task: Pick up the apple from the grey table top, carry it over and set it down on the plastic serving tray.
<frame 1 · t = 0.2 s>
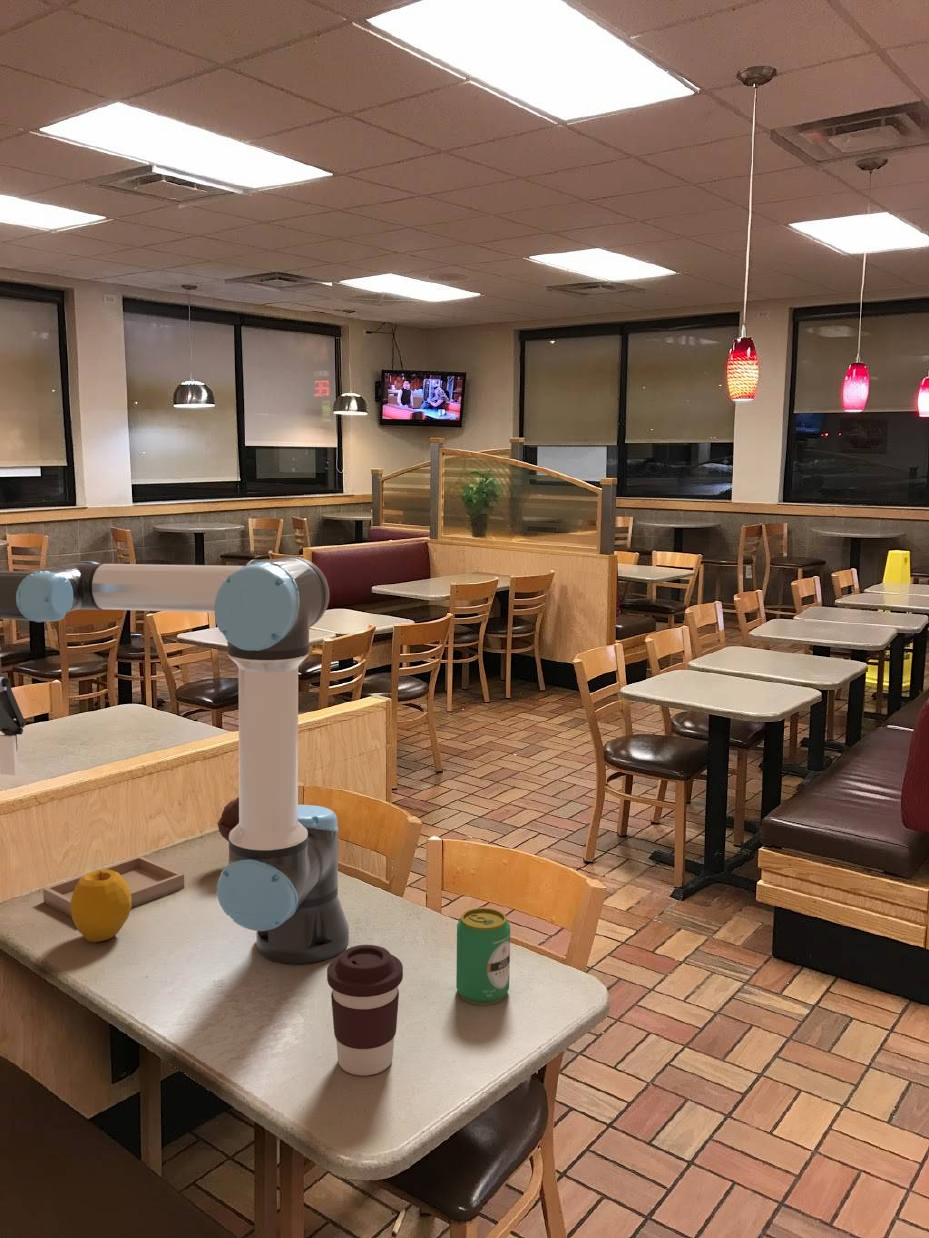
tray: (115, 894, 186), on the table
apple: (102, 939, 169), on the table
coffee cup: (365, 1062, 135), on the table
beverage can: (482, 993, 153), on the table
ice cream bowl: (247, 867, 200), on the table
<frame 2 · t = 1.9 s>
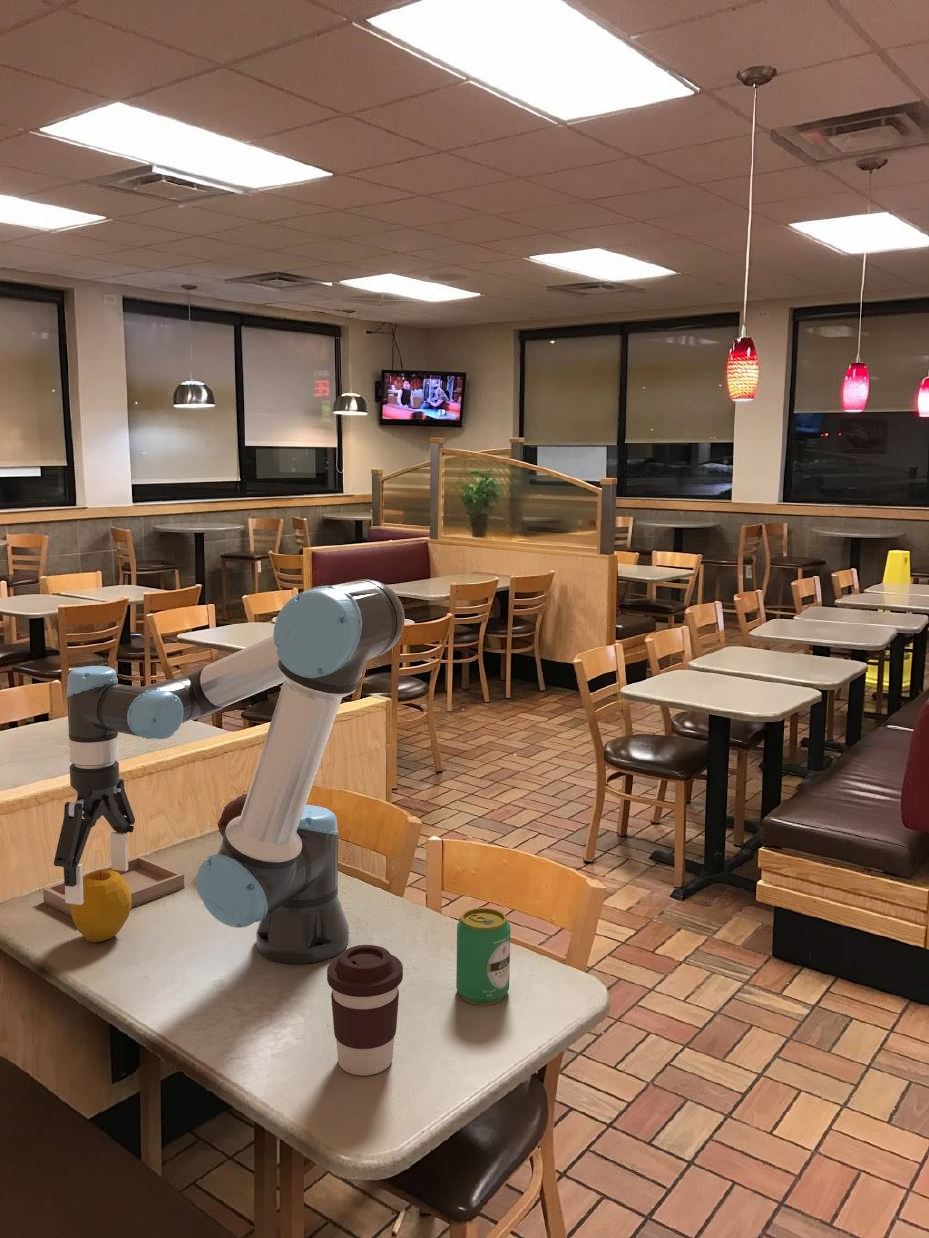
hand: (98, 885, 168), 9 cm above the table, fingers open, 13 cm apart
nothing on the table moved.
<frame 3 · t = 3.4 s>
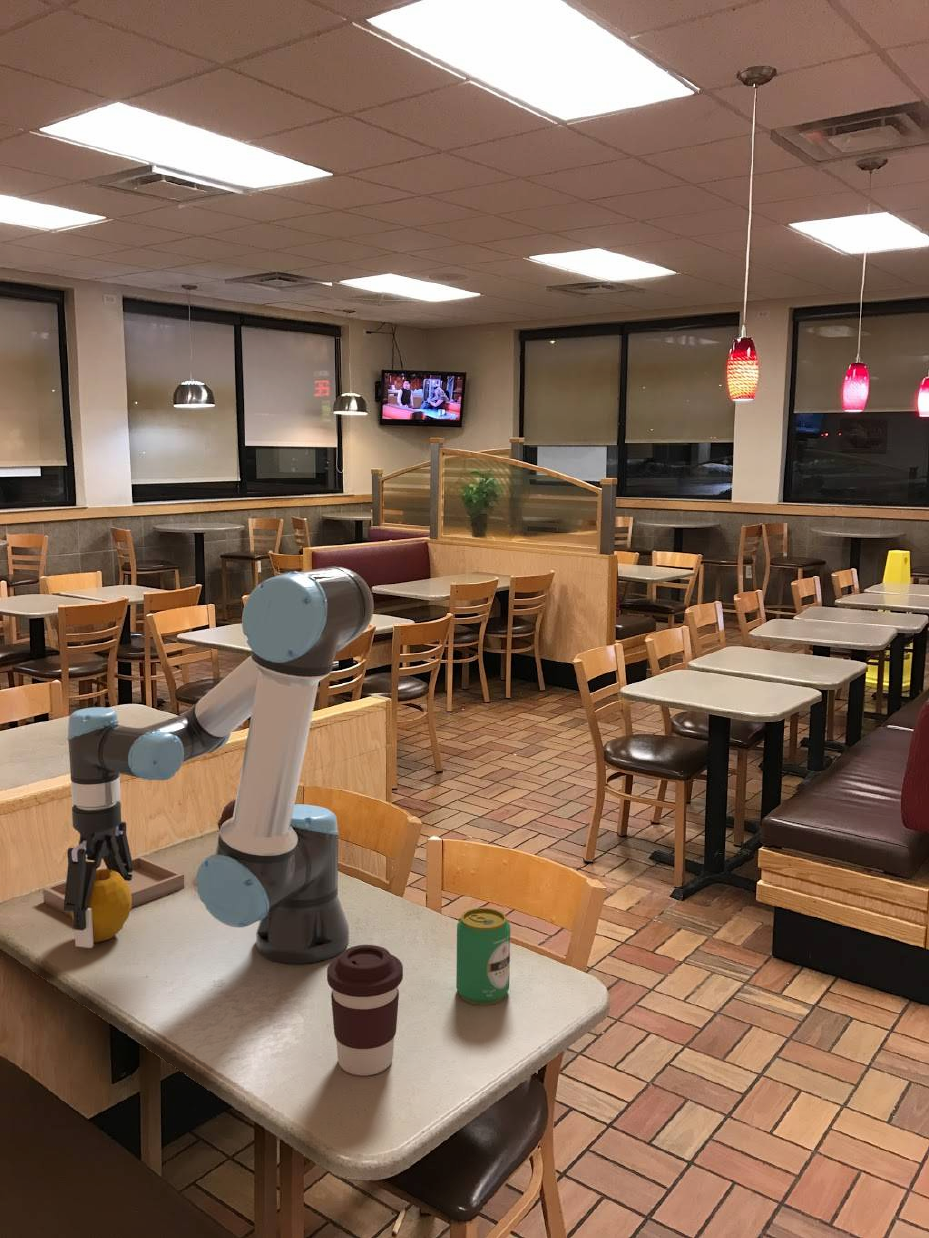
hand: (102, 931, 169), 1 cm above the table, fingers closed on apple, 10 cm apart
apple: (102, 939, 169), on the table, touching gripper
everything else where it was.
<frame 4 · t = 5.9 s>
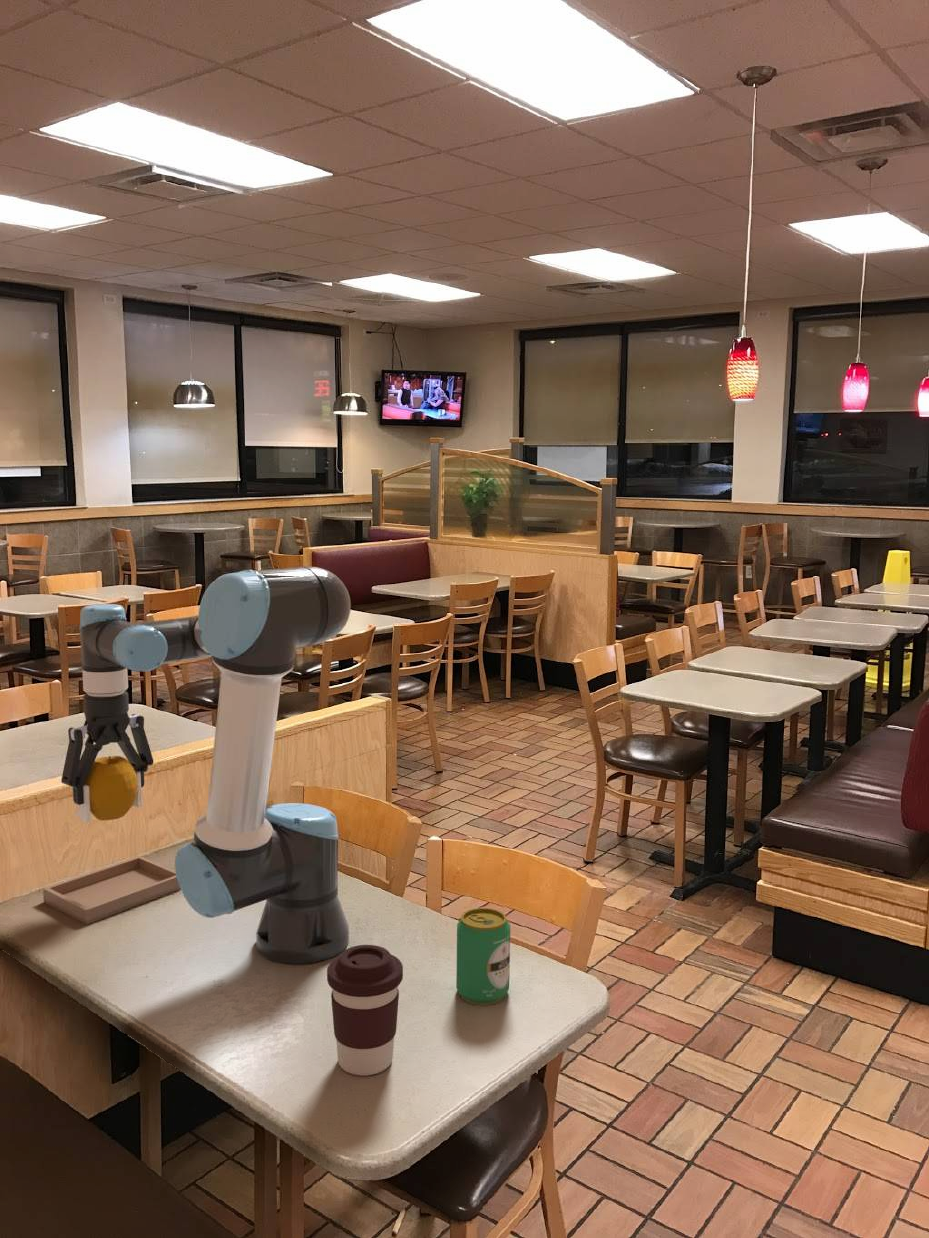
hand: (110, 812, 183), 16 cm above the table, fingers closed on apple, 10 cm apart
apple: (110, 819, 183), point 14 cm above the table, touching gripper
everything else where it was.
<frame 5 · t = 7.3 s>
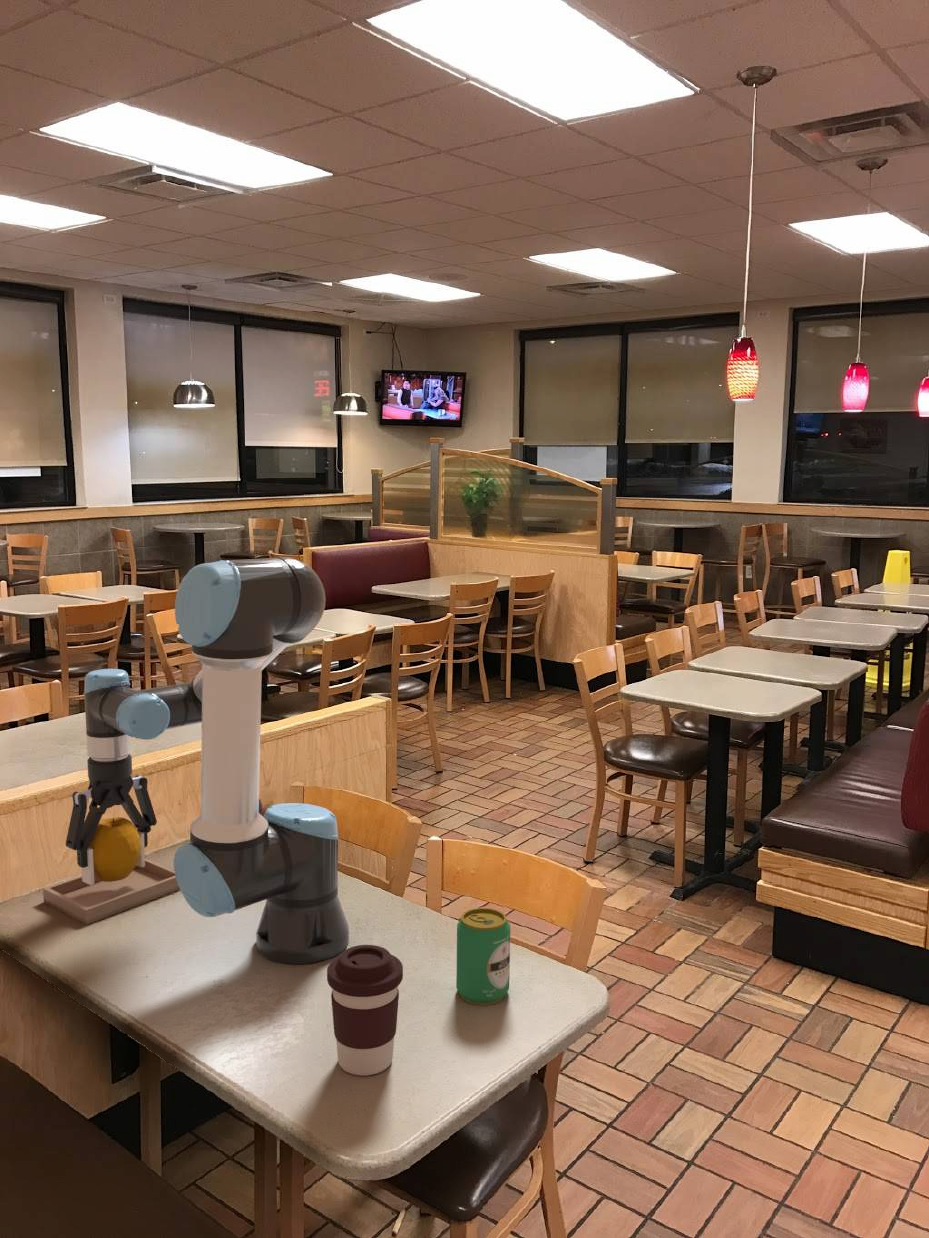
hand: (114, 873, 185), 4 cm above the table, fingers closed on apple, 10 cm apart
apple: (114, 880, 186), point 3 cm above the table, touching gripper
everything else where it was.
when the fingers open (4 cm above the table, at t = 8.2 s): apple drops 2 cm, resting on tray.
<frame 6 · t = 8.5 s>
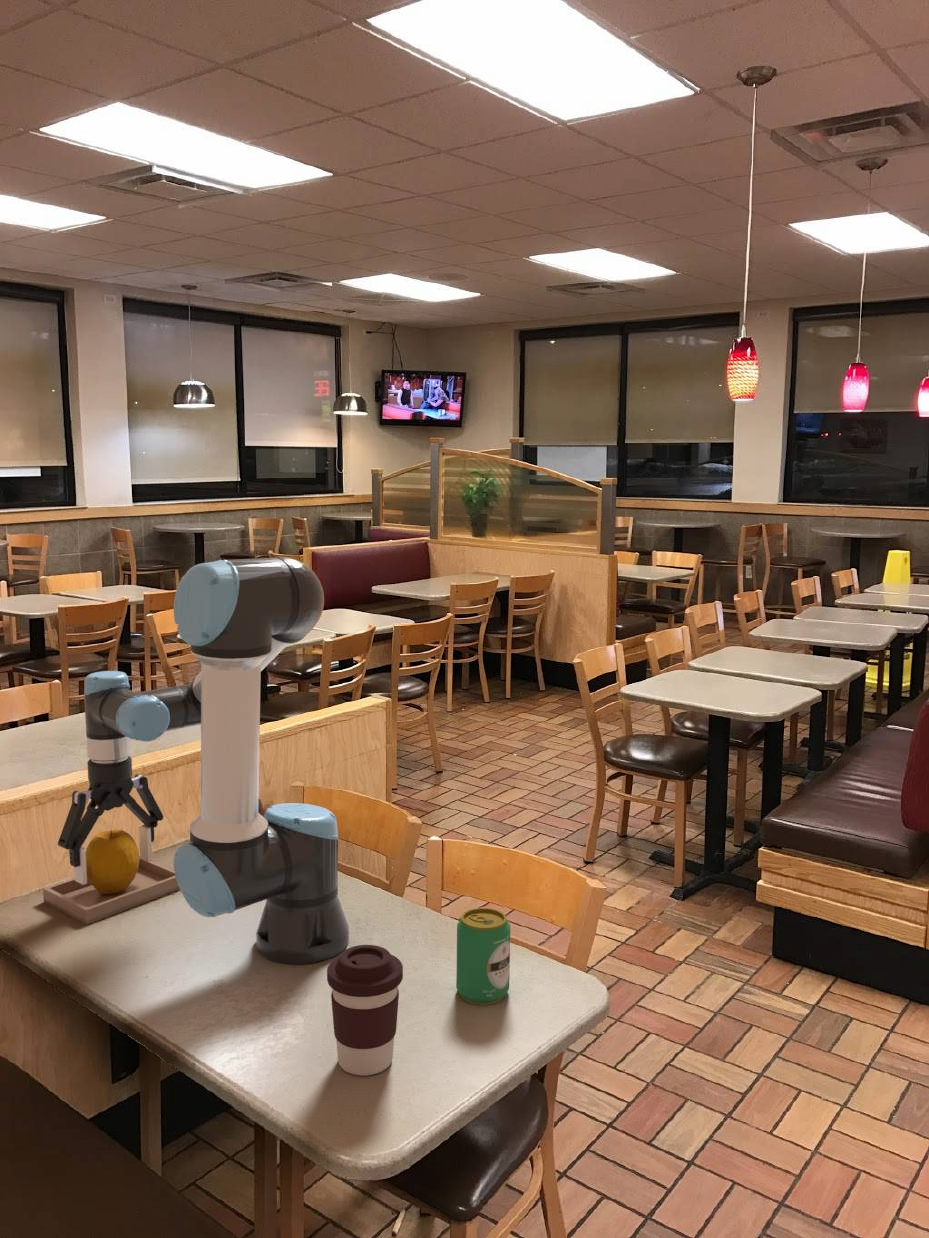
hand: (114, 870, 185), 5 cm above the table, fingers open, 13 cm apart
apple: (112, 893, 186), resting on tray
everything else where it was.
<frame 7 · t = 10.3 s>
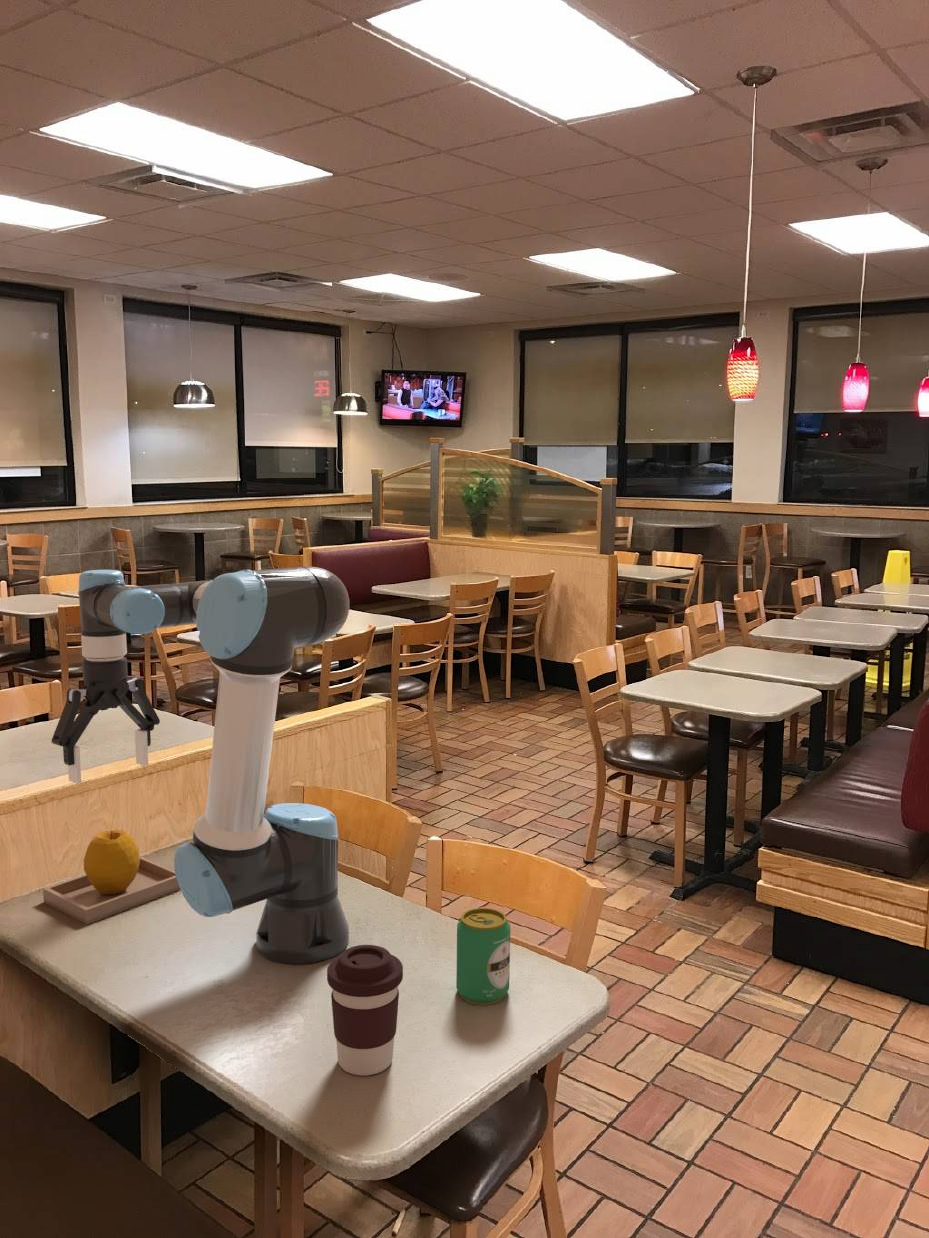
hand: (109, 772, 183), 23 cm above the table, fingers open, 13 cm apart
nothing on the table moved.
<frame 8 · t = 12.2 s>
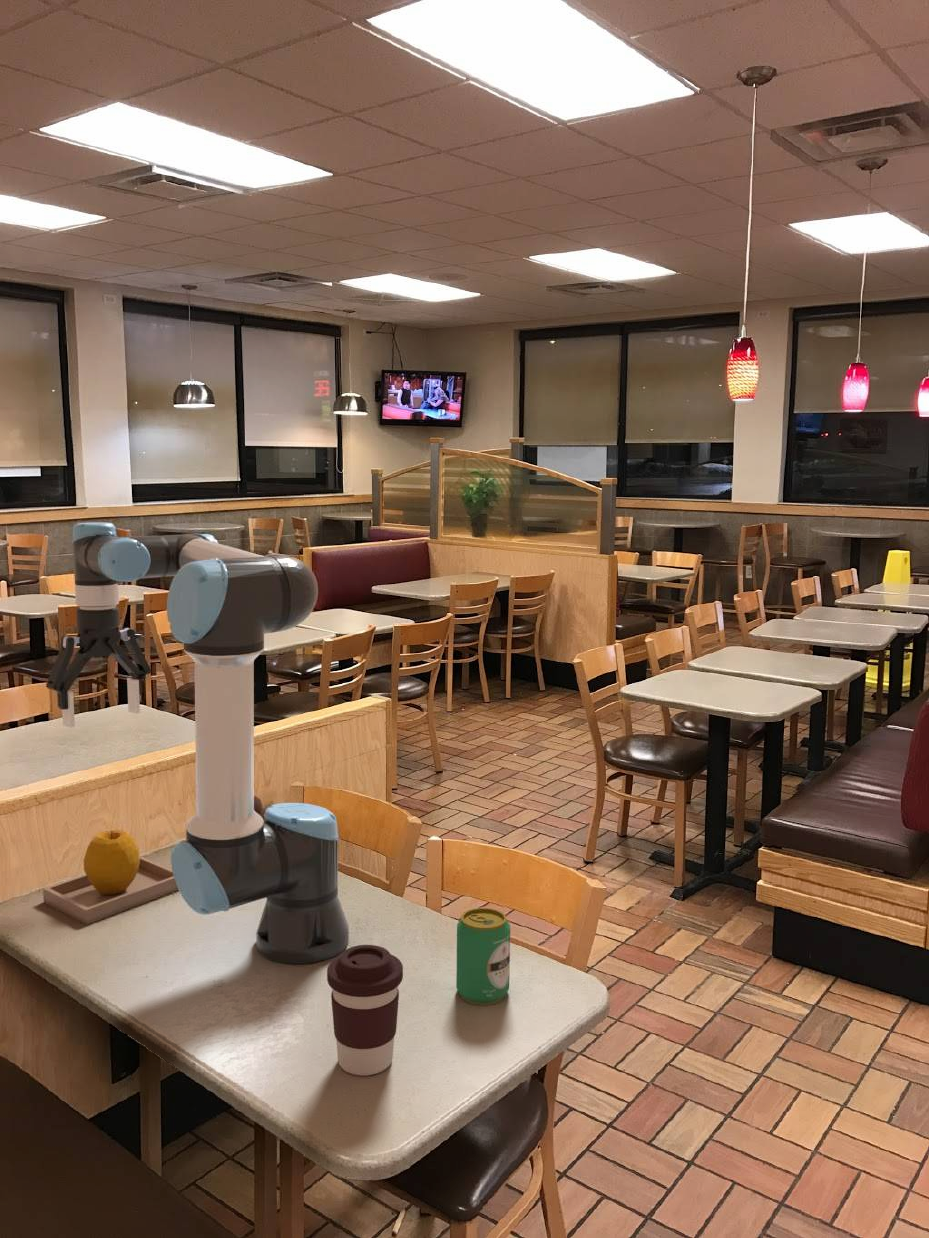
hand: (102, 719, 190), 31 cm above the table, fingers open, 13 cm apart
nothing on the table moved.
at the end: apple 0.4 cm from the tray (horizontally); apple touching tray; the gripper is holding nothing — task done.
